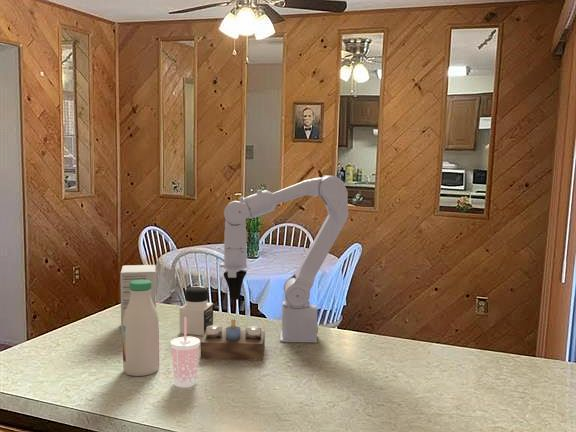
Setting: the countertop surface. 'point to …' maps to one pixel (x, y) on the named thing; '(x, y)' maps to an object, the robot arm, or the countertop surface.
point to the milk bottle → (140, 331)
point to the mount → (233, 347)
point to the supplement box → (132, 274)
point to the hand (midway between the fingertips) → (235, 298)
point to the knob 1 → (214, 332)
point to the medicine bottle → (196, 311)
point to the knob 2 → (253, 332)
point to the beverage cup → (185, 359)
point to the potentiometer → (233, 331)
